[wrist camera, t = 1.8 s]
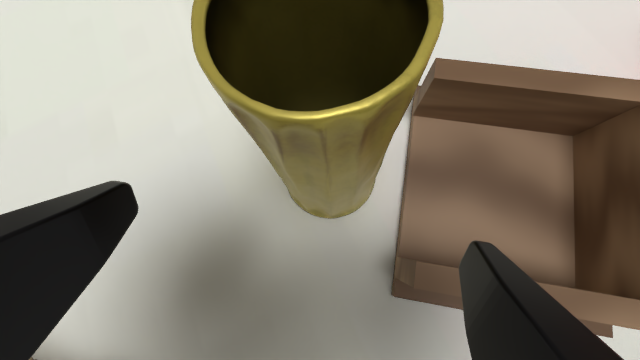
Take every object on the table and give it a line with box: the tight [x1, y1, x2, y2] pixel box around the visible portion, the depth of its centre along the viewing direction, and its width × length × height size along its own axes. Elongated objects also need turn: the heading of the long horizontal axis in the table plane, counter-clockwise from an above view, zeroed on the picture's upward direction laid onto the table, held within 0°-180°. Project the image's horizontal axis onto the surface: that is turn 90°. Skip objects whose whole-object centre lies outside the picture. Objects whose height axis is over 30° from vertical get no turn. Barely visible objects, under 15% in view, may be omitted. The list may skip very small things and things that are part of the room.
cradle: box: [392, 58, 640, 338], centre depth 16 cm, size 14×12×5 cm
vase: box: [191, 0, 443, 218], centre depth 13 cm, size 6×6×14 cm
